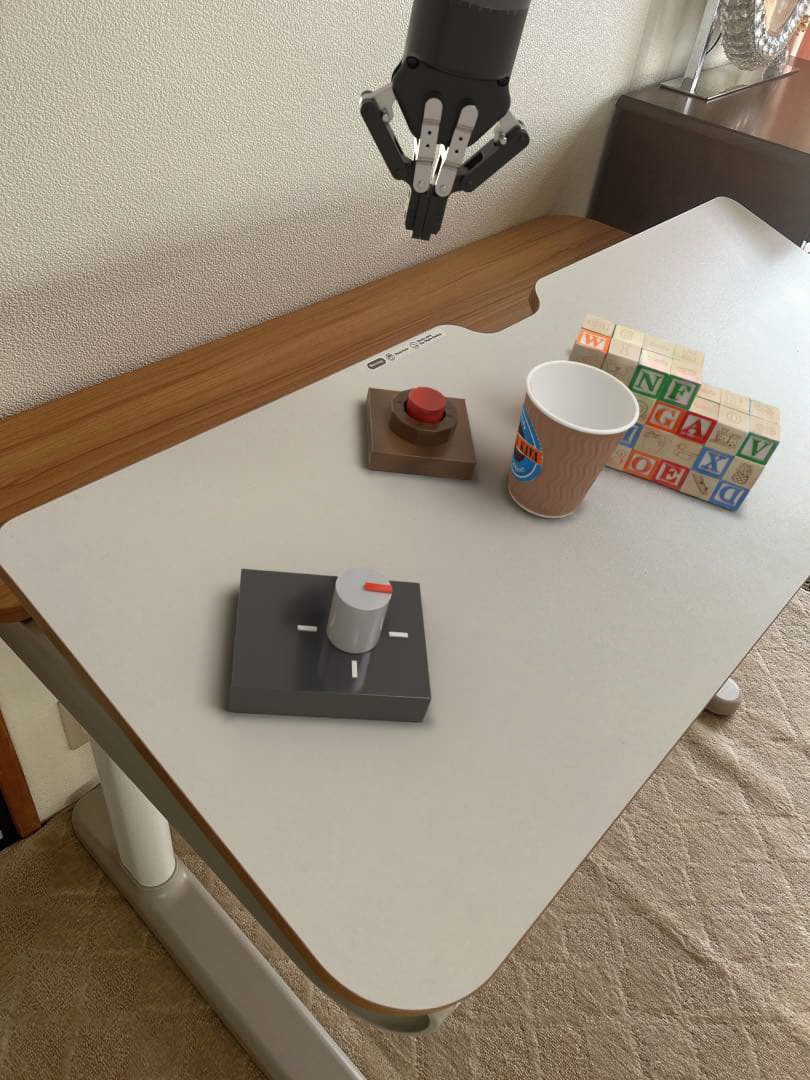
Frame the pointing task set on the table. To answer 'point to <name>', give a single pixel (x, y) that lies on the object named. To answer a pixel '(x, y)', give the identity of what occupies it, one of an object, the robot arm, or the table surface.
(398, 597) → the stove panel
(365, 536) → the table surface
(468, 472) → the button block
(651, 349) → the stack of blocks
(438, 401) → the button
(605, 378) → the coffee cup
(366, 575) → the stove knob
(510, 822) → the table surface
